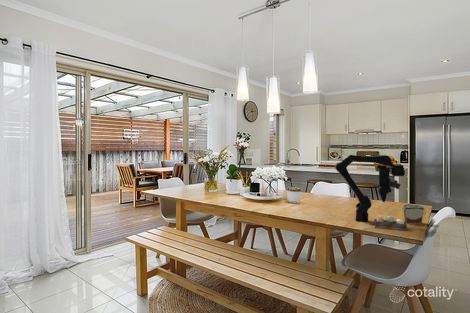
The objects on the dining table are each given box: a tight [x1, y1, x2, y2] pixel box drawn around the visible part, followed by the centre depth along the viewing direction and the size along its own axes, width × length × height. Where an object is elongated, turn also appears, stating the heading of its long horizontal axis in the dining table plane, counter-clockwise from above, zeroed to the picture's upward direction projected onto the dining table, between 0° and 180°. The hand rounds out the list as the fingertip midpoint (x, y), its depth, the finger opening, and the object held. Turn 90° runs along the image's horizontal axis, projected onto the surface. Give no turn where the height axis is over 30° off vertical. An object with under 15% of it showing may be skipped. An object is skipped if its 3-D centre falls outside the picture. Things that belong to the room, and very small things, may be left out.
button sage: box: [385, 215, 395, 223], centre depth 156 cm, size 4×4×3 cm
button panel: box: [374, 218, 408, 232], centre depth 156 cm, size 15×9×3 cm, turn 66°
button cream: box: [395, 218, 405, 224], centre depth 154 cm, size 4×4×3 cm
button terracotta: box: [376, 217, 385, 222], centre depth 158 cm, size 4×4×3 cm
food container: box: [402, 204, 425, 224], centre depth 167 cm, size 12×6×10 cm, turn 92°
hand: (383, 201), depth 167 cm, fingers closed
